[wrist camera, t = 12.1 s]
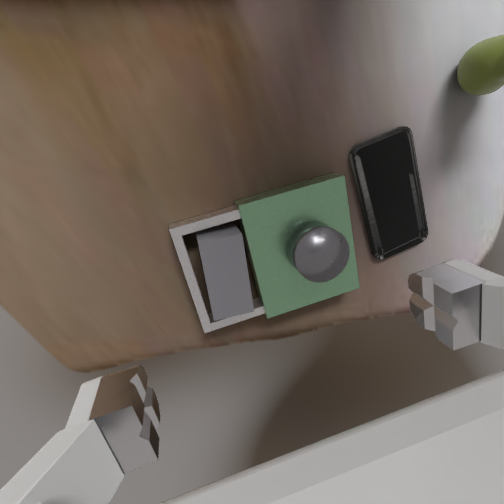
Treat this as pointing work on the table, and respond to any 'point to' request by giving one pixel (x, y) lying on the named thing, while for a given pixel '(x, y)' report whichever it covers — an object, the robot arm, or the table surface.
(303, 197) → the multicoloured piece
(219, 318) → the grey rectangular cuboid
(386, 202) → the phone
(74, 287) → the table surface
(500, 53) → the pear
